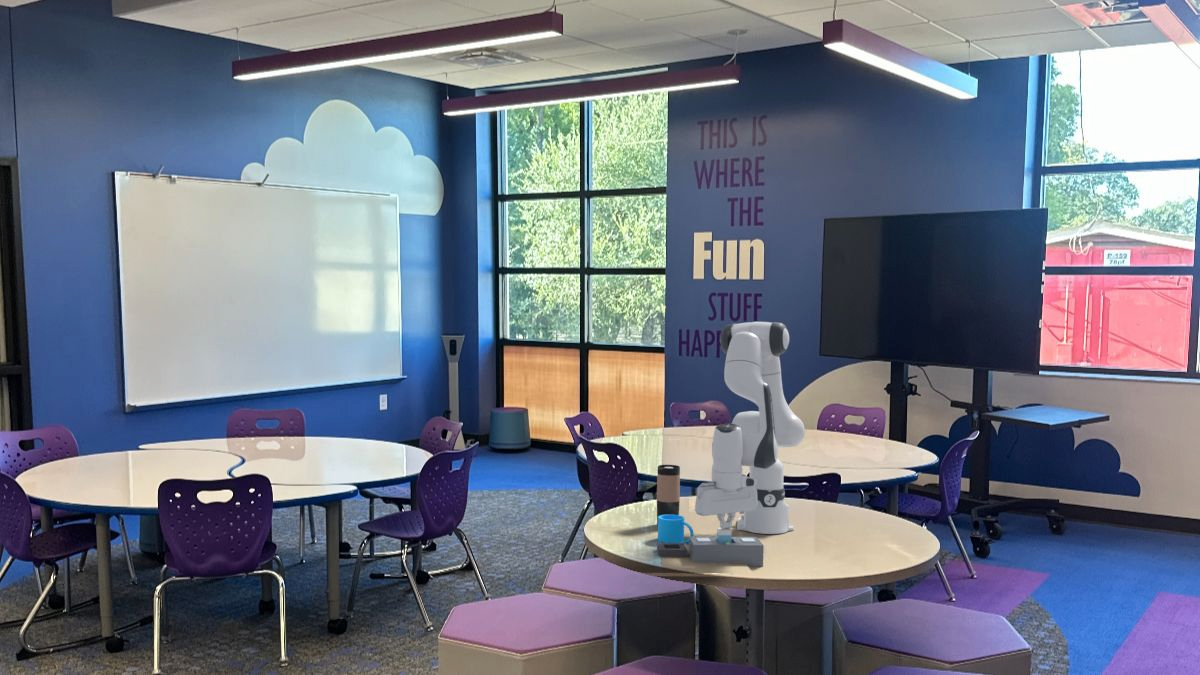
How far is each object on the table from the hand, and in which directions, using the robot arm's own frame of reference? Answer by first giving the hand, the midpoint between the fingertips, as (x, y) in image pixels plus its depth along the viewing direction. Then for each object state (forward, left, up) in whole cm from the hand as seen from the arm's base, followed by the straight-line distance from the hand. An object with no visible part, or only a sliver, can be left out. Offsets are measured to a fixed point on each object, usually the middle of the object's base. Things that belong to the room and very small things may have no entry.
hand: (725, 528), depth 279 cm
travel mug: (-45, -12, -10) cm, 48 cm away
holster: (-5, -15, -10) cm, 19 cm away
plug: (0, -1, -8) cm, 8 cm away
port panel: (0, 0, -10) cm, 10 cm away
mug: (-20, -12, -10) cm, 25 cm away
